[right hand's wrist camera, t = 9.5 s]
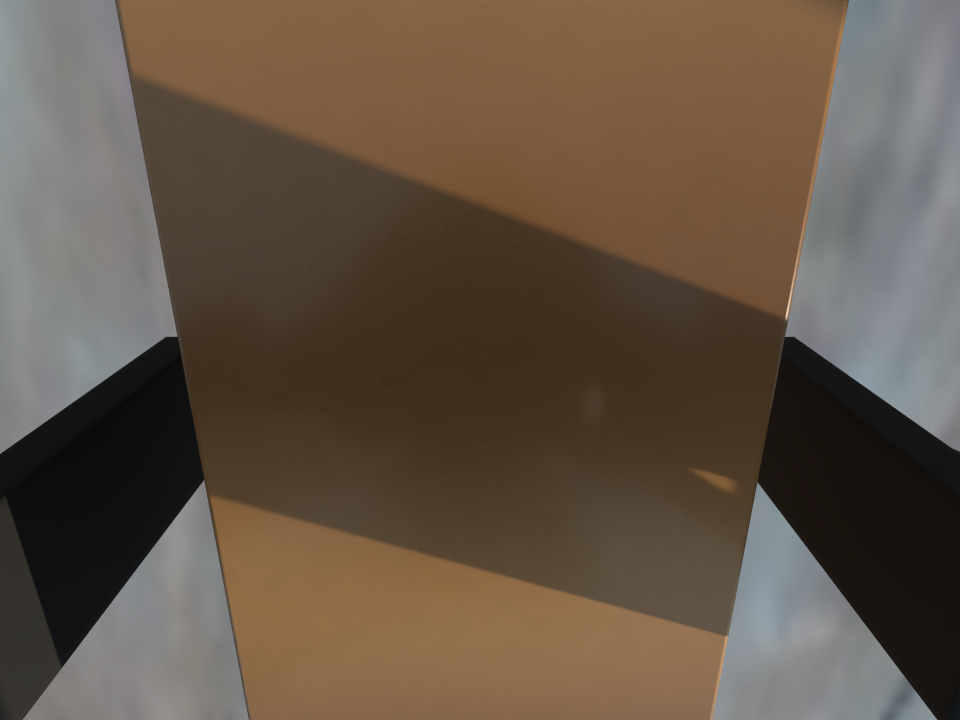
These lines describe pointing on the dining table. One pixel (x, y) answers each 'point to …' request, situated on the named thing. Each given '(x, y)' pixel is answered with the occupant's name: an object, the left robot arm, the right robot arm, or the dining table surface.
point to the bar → (481, 332)
